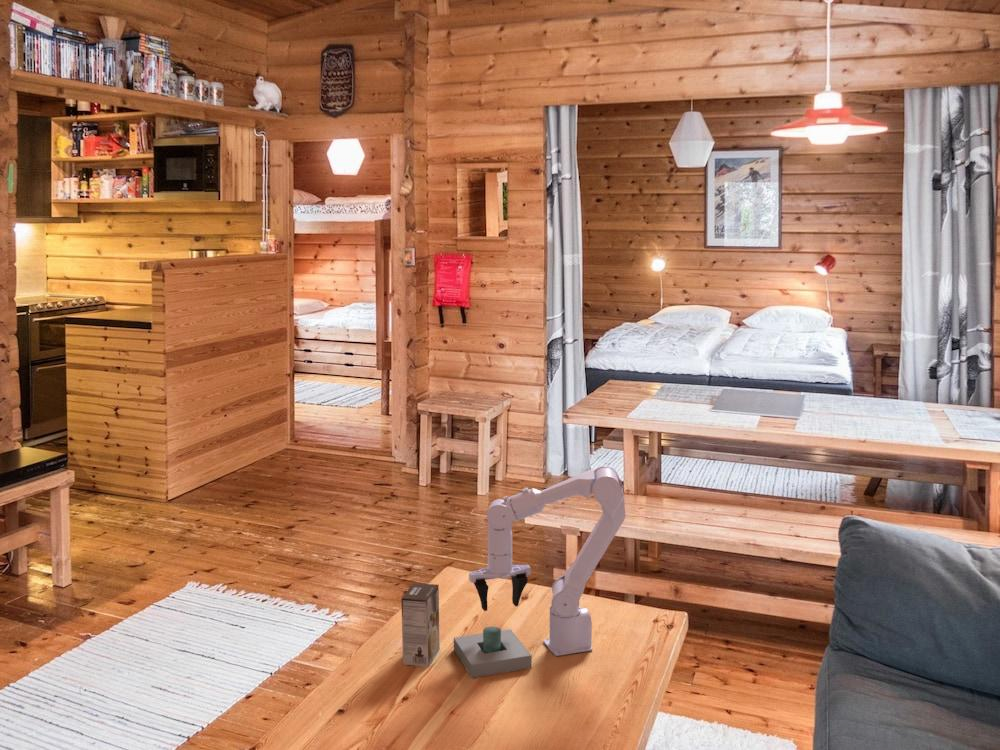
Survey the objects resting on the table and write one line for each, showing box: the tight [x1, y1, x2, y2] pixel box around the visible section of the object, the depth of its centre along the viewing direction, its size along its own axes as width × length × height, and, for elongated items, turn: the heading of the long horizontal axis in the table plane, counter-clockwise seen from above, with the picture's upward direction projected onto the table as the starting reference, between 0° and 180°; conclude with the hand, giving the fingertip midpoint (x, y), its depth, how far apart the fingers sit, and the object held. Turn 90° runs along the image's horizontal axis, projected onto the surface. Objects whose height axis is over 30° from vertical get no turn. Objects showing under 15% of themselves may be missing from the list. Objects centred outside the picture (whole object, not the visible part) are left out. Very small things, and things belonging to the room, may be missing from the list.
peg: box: [482, 626, 502, 653], centre depth 207 cm, size 4×4×7 cm
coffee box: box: [400, 582, 441, 668], centre depth 208 cm, size 9×6×16 cm
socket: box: [453, 628, 533, 679], centre depth 208 cm, size 14×14×3 cm
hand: (499, 607), depth 214 cm, fingers open, 7 cm apart
